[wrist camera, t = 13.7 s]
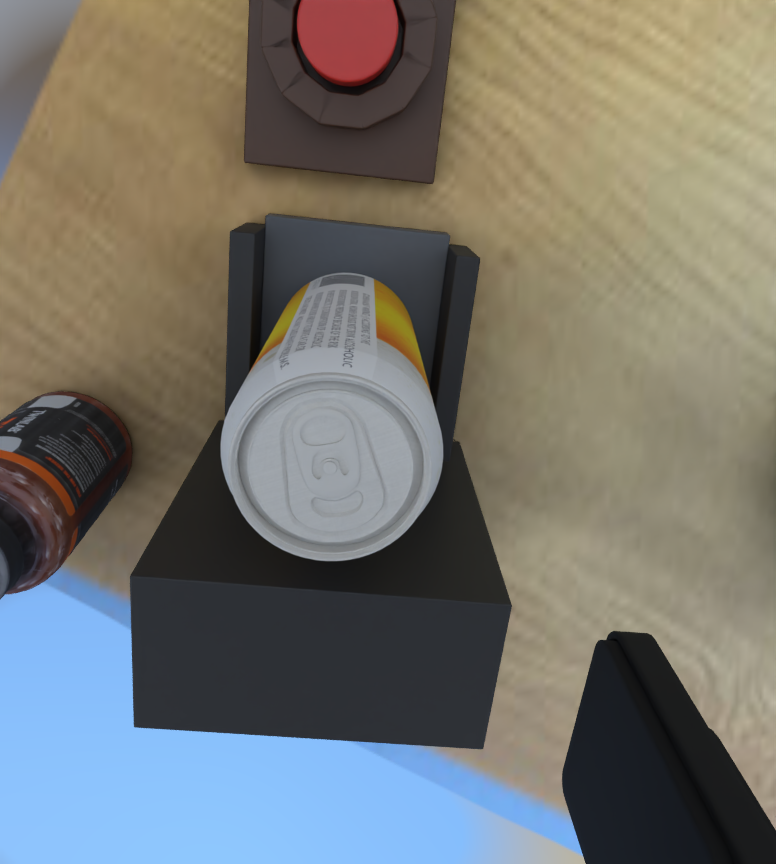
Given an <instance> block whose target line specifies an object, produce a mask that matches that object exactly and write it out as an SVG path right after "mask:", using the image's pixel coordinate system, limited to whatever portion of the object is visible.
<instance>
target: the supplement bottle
mask: <svg viewBox="0 0 776 864" xmlns="http://www.w3.org/2000/svg"><path fill="white" fill-rule="evenodd" d="M131 462H132V446H131V442H130V437H129V434H128V432H127V431H126V428H125V427H124V425H123V424H122V422H121V421H120V419H119V418H118V417H117V416H116V415H115V414H114V413H113V412H112V411H111V410H110V409H109V408H108V407H107V406H105V405H104V404H102V403H101V402H99V401H97V400H96V399H94V398H91V397H89V396H86V395H83V394H78V393H74V392H63V391H62V392H51V393H47V394H43V395H41V396H38V397H36V398H34V399H32V400H31V401H28V402H26V403H25V404H23V405H22V406H21V407H19V408H18V409H16V410H15V411H14V412H13V413H11V414H9V415H8V416H7V417H5V418H4V419H3V420H1V421H0V599H1V598H2V597H3V596H4V595H5V594H12V593H18V592H22V591H26V590H29V589H31V588H33V587H35V586H37V585H39V584H41V583H42V582H44V581H45V580H47V579H48V578H49V577H50V576H52V575H53V574H54V573H55V572H56V571H57V570H58V569H59V568H60V567H61V565H62V564H63V563H64V561H65V560H66V559H67V557H68V556H69V555H70V554H71V553H72V552H73V550H74V549H75V547H76V546H77V545H78V543H79V542H80V541H81V539H82V538H83V537H84V535H85V534H86V532H87V531H88V530H89V528H90V527H91V526H92V525H93V523H94V522H95V521H96V520H97V518H98V517H99V515H100V514H101V513H102V511H103V510H104V509H105V507H106V506H107V505H108V503H109V502H110V501H111V499H112V498H113V497H114V496H115V494H116V493H117V491H118V490H119V489H120V487H121V486H122V484H123V482H124V480H125V479H126V477H127V475H128V473H129V470H130V467H131Z"/></svg>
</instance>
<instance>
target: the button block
mask: <svg viewBox="0 0 776 864" xmlns="http://www.w3.org/2000/svg"><path fill="white" fill-rule="evenodd" d="M393 1H394V4H395V7H396V10H397V16H398V37H397V42H396V46H395V50H394V53H393V56H392V58H391V60H390V62H389V64H388V65H387V67H386V68H385V69H384V71H383V72H382V73H381V74H380V75H379V76H377V77H376V78H375V79H373V80H372V81H370V82H368V83H366V84H363V85H359V86H352V87H349V86H341V85H337V84H334V83H332V82H330V81H328V80H326V79H325V78H323V77H322V76H321V75H320V74H319V73H317V72H316V70H315V69H314V68H313V67H312V65H311V64H310V62H309V61H308V59H307V58H306V56H305V54H304V52H303V50H302V47H301V45H300V42H299V38H298V32H297V15H298V9H299V5H300V2H301V0H249V23H248V54H247V84H246V115H245V145H244V162H245V163H251V164H260V165H269V166H278V167H286V168H295V169H304V170H313V171H322V172H330V173H339V174H348V175H357V176H366V177H375V178H383V179H392V180H401V181H410V182H419V183H427V184H433V182H434V175H435V167H436V159H437V151H438V143H439V135H440V127H441V118H442V110H443V102H444V94H445V86H446V78H447V70H448V62H449V54H450V45H451V37H452V29H453V21H454V13H455V5H456V0H393Z"/></svg>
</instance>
